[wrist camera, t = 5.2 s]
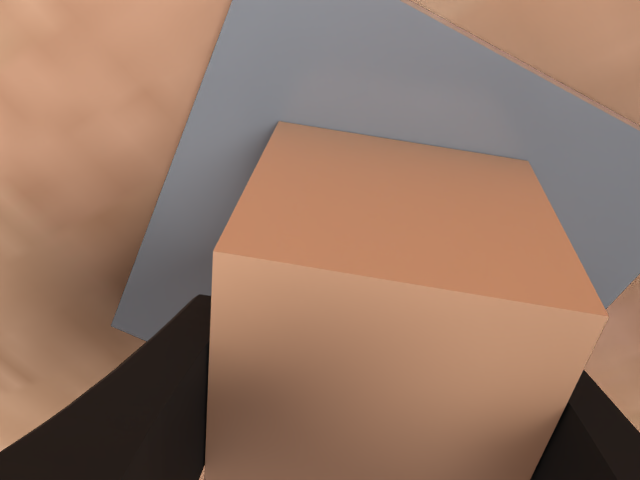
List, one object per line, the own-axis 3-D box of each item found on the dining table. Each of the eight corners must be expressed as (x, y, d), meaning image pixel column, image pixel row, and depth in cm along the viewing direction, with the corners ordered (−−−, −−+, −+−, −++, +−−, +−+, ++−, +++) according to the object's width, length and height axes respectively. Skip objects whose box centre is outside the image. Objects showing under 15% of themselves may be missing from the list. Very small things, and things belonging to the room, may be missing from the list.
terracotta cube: (528, 160, 12) (608, 316, 7) (464, 351, 14) (495, 549, 10) (278, 121, 12) (213, 251, 7) (260, 317, 14) (203, 498, 10)
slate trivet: (709, 164, 12) (729, 179, 11) (448, 447, 17) (450, 471, 16) (269, -77, 11) (260, -76, 10) (123, 307, 16) (110, 325, 15)
